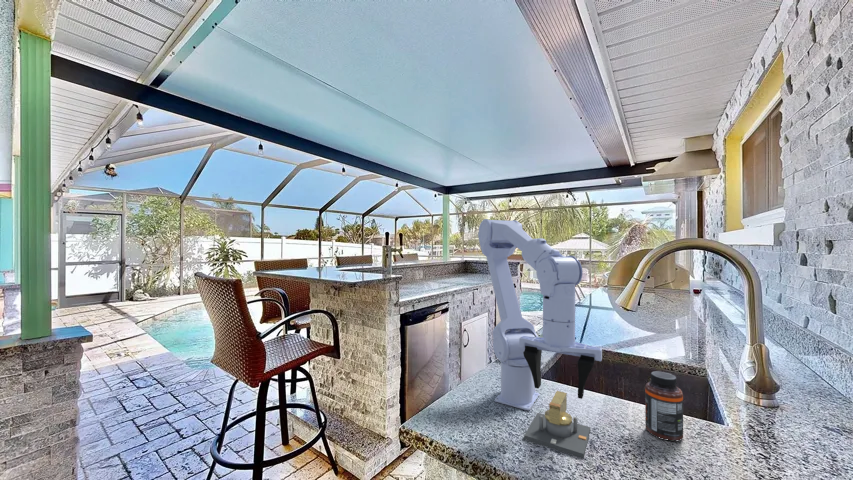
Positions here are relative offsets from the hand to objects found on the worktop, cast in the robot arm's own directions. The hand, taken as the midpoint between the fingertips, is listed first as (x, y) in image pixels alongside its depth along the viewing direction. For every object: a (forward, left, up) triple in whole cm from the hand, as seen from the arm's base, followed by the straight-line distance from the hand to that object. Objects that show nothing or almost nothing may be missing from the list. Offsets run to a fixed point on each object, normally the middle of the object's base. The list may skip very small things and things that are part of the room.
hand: (558, 391), depth 63 cm
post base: (0, 0, -8) cm, 8 cm away
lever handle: (0, 0, -5) cm, 5 cm away
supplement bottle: (-12, +17, -9) cm, 22 cm away
